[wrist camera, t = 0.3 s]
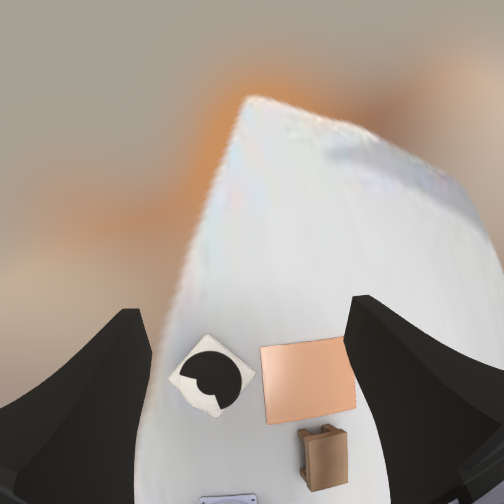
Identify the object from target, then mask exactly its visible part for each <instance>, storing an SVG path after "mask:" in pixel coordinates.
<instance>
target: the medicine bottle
mask: <svg viewBox="0 0 504 504" xmlns="http://www.w3.org/2000/svg"><path fill="white" fill-rule="evenodd" d="M255 374H256V372H255V371H254V370H253V369H252V368H250V367H249V366H248V365H246V364H245V363H244V362H243V361H241V360H240V359H239V358H237V357H236V356H235V355H234V354H232V353H231V352H230V351H229V350H227V349H226V348H225V347H224V346H222V345H221V344H220V343H219V342H218V341H216V340H215V339H214V338H213V337H212V336H210V335H209V334H206V335H205V336H204V337H203V338H202V339H201V340H200V341H199V342H198V344H197V345H196V346H195V347H194V348H193V349H192V351H191V352H190V353H189V354H188V355H187V356H186V358H185V359H184V360H183V361H182V362H181V363H180V364H179V366H178V367H177V368H176V369H175V370H174V371H173V372H172V374H171V375H170V376H169V377H168V381H169V382H170V383H171V384H172V385H174V386H175V387H176V388H177V389H178V390H180V391H181V393H182V395H183V396H184V398H185V399H186V400H187V401H188V402H189V403H190V404H191V405H193V406H194V407H196V408H198V409H201V410H204V411H206V412H207V413H209V414H210V415H211V416H213V417H214V418H219V417H220V416H221V414H222V413H223V412H224V411H225V410H226V409H227V408H228V407H229V406H230V405H231V404H232V403H233V402H234V401H235V400H236V399H237V398H238V396H239V394H240V393H241V392H242V390H243V389H244V388H245V387H246V386H247V384H248V383H249V382H250V381H251V380H252V378H253V377H254V376H255Z"/></svg>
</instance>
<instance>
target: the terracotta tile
mask: <svg viewBox="0 0 504 504" xmlns="http://www.w3.org/2000/svg"><path fill="white" fill-rule="evenodd" d="M343 339H344V337H338V338H332V339H325V340H318V341H311V342H303V343H295V344H286V345H277V346H267V347H260V354H261V365H262V376H263V387H264V399H265V410H266V421H267V425H271V424H278V423H285V422H292V421H298V420H304V419H309V418H314V417H319V416H324V415H329V414H333V413H338V412H342V411H346V410H350V409H354V408H356V393H355V379H354V372H353V370H352V367H351V365H350V362H349V359H348V356H347V352H346V349H345V345H344V342H343Z"/></svg>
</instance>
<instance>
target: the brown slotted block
mask: <svg viewBox="0 0 504 504" xmlns="http://www.w3.org/2000/svg"><path fill="white" fill-rule="evenodd" d="M297 431H298V437H299V438H300V440H301V441H302V442H303V443H304V444H305V458H306V468H301V469H300V475H301V476H302V478H303V479H304V480H305V482H306V483H307V487H308V488H309V490H310V491H311V492H315V491H319V490H323V489H327V488H331V487H334V486H338V485H342V484H345V483H348V450H347V432H345V431H344V430H342V429H337V428H335V427H334V426H332V425H330V424H326V425H322V432H323V433H321V434H316V435H312V434H311V433H310V432H308V431H307V430H306V429H300V430H297Z"/></svg>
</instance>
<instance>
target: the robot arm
mask: <svg viewBox="0 0 504 504" xmlns="http://www.w3.org/2000/svg"><path fill="white" fill-rule="evenodd" d="M343 342H344V345H345V349H346V352H347V356H348V359H349V362H350V365H351V367H352V370H353V372H354V374H355V376H356V379H357V381H358V383H359V385H360V388H361V390H362V392H363V394H364V397H365V399H366V401H367V403H368V406H369V408H370V410H371V413H372V415H373V418H374V421H375V424H376V427H377V431H378V434H379V438H380V442H381V446H382V450H383V454H384V459H385V463H386V469H387V475H388V481H389V488H390V498H391V504H504V370H501V369H497V368H495V367H492V366H489V365H486V364H484V363H481V362H479V361H476V360H474V359H472V358H469V357H467V356H465V355H463V354H461V353H459V352H457V351H455V350H453V349H451V348H449V347H448V346H446V345H444V344H442V343H440V342H439V341H437V340H436V339H434V338H432V337H431V336H429V335H427V334H426V333H424V332H423V331H421V330H420V329H418V328H417V327H415V326H414V325H412V324H411V323H409V322H408V321H406V320H405V319H404V318H402V317H401V316H399V315H398V314H396V313H395V312H394V311H392V310H391V309H389V308H388V307H386V306H385V305H384V304H382V303H381V302H379V301H378V300H376V299H375V298H373V297H371V296H370V295H361V296H353V297H352V302H351V307H350V312H349V317H348V321H347V326H346V330H345V334H344V339H343ZM151 359H152V350H151V347H150V344H149V340H148V337H147V334H146V331H145V327H144V324H143V320H142V317H141V313H140V310H139V309H122V310H121V311H120V312H119V313H117V314H116V315H115V316H114V317H113V318H112V319H111V320H110V321H109V322H108V323H107V324H106V325H105V327H103V328H102V329H101V330H100V331H99V332H98V333H97V334H96V335H95V336H94V337H93V338H92V339H91V340H90V341H89V342H88V343H87V344H86V345H85V346H84V347H83V348H82V349H81V350H80V351H79V352H78V353H77V354H75V356H73V357H72V358H71V359H70V360H69V361H68V362H67V363H66V364H65V365H64V366H62V367H61V368H60V369H59V370H58V371H56V372H55V373H54V374H53V375H52V376H50V377H49V378H48V379H46V380H45V381H44V382H42V383H41V384H40V385H38V386H37V387H35V388H34V389H32V390H31V391H29V392H28V393H26V394H25V395H23V396H22V397H20V398H19V399H17V400H16V401H13V402H12V403H10V404H8V405H6V406H4V407H2V408H0V504H134V458H135V443H136V436H137V429H138V425H139V420H140V416H141V411H142V407H143V403H144V399H145V394H146V390H147V386H148V381H149V377H150V369H151ZM251 499H254V500H251ZM202 502H205V503H202ZM200 504H257V499H256V495H255V494H248V495H236V496H220V497H201V498H200Z"/></svg>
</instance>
